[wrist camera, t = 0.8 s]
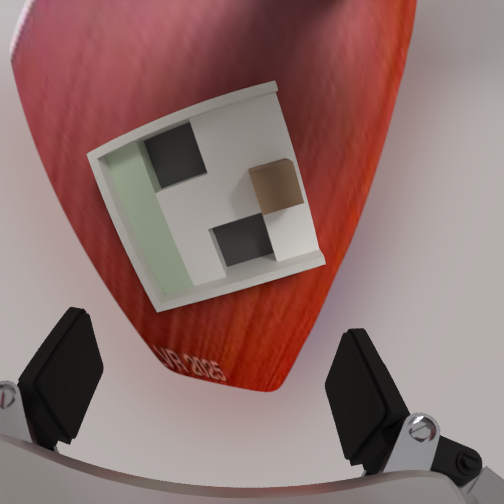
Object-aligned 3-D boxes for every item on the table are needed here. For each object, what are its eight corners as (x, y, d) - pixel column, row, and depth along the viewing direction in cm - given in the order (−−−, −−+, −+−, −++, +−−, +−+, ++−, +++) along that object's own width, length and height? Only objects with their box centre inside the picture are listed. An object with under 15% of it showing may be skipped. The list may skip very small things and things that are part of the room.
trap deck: (269, 88, 28) (275, 80, 23) (314, 246, 36) (325, 263, 31) (106, 150, 30) (86, 153, 25) (165, 291, 37) (157, 312, 32)
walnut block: (285, 157, 28) (292, 161, 25) (296, 194, 30) (304, 203, 26) (248, 169, 29) (249, 174, 25) (259, 205, 30) (262, 215, 26)
